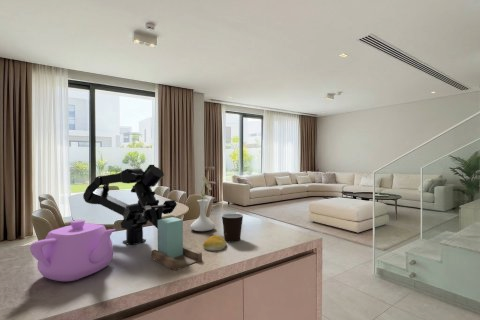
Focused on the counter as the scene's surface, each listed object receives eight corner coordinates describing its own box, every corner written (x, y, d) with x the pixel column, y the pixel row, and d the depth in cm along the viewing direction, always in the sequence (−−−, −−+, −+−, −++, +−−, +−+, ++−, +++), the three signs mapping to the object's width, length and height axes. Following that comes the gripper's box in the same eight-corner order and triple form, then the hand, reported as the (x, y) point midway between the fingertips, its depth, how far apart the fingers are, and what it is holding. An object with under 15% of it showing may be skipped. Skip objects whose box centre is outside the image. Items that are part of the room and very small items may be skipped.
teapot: (11, 285, 68) (10, 228, 68) (85, 257, 88) (84, 212, 88) (71, 303, 60) (70, 238, 60) (137, 267, 80) (137, 218, 80)
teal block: (157, 255, 88) (157, 220, 88) (173, 250, 93) (172, 217, 93) (167, 259, 84) (167, 223, 84) (182, 254, 89) (182, 219, 88)
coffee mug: (238, 244, 101) (238, 218, 101) (218, 241, 104) (218, 216, 104) (247, 235, 112) (247, 212, 112) (228, 233, 115) (228, 211, 115)
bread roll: (200, 251, 94) (200, 240, 94) (208, 243, 103) (207, 233, 103) (222, 252, 93) (222, 241, 93) (228, 244, 102) (228, 234, 102)
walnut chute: (151, 258, 87) (150, 250, 87) (177, 250, 95) (177, 243, 95) (174, 270, 77) (174, 262, 77) (201, 260, 85) (201, 252, 85)
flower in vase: (213, 233, 115) (213, 177, 115) (187, 233, 115) (187, 177, 115) (216, 225, 128) (216, 175, 128) (193, 225, 128) (193, 175, 128)
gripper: (159, 204, 111) (173, 235, 104) (114, 210, 97) (126, 247, 90) (169, 187, 105) (185, 219, 98) (123, 191, 92) (137, 229, 84)
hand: (159, 228), depth 93 cm, fingers closed
